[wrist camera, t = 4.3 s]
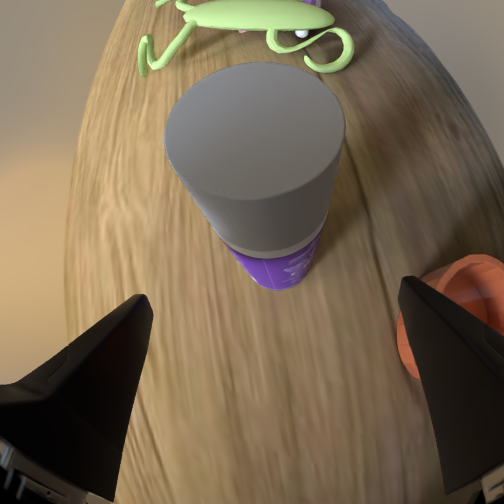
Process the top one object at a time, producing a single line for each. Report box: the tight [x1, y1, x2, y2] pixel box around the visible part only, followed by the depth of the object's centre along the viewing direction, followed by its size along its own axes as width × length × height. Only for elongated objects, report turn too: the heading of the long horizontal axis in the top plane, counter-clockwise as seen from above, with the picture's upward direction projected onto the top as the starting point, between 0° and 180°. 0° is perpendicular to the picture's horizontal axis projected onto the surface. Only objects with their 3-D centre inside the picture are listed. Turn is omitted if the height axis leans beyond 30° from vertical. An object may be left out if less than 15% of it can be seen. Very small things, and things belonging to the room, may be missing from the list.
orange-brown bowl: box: [397, 254, 504, 381], centre depth 15 cm, size 9×9×5 cm
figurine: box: [138, 0, 354, 77], centre depth 26 cm, size 18×27×6 cm
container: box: [164, 62, 346, 290], centre depth 14 cm, size 5×5×15 cm
